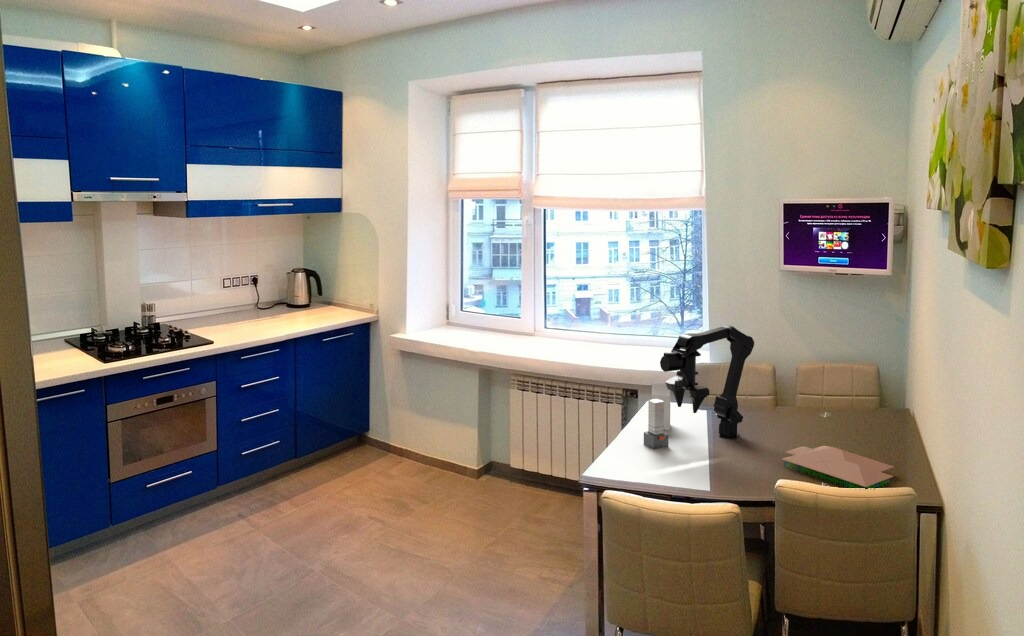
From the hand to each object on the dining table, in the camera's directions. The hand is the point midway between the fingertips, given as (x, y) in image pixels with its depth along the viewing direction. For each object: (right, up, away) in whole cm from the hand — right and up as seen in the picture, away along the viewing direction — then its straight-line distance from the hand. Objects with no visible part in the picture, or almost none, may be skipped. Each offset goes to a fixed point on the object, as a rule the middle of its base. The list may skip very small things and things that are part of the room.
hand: (687, 409), depth 272 cm
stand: (-12, -14, -3) cm, 19 cm away
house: (+43, -17, -29) cm, 55 cm away
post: (-12, -9, -4) cm, 16 cm away
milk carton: (-6, -11, +19) cm, 23 cm away
